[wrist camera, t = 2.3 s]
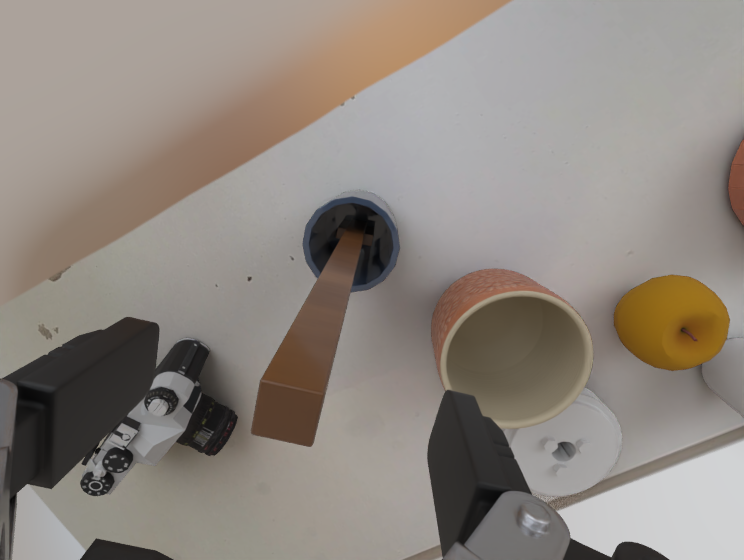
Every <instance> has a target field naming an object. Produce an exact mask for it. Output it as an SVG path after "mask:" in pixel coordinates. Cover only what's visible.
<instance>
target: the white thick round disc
mask: <svg viewBox="0 0 744 560" xmlns="http://www.w3.org/2000/svg"><path fill="white" fill-rule="evenodd" d="M501 429H502V428H501ZM502 430H503V432H504V434H505V436H506V439H507V441H508V443H509V447H511V450H512V452H513V454H514V456H515V457H514V459H516V460H517V463H518V465H519V467H520V469H521V471H522V473H523V476H524V478H525V480H526V482H527V484H528V487H529V489H530V491H531V492H532V493H535V494H539V495H543V496H567V495H572V494H576V493H579V492H582V491H584V490H586V489H588V488H590V487H592V486H594V485H595V484H597V483H598V482H600V481H601V480H602V479H603V478H604V477H605V476H606V475H607V474H608V473H609V472H610V471H611V470H612V468H613V467H614V465H615V464H616V462H617V460H618V458H619V455H620V452H621V447H622V431H621V428H620V424H619V422H618V420H617V418H616V417H615V415H614V414H613V413H612V411H611V410H610V409H609V408H608V407H607V406H606V405H604V404H603V402H602V401H601V400H600V399H599V398H598V396H597V395H595V394H594V393H593V392H592V391H590V390H589V389H587V388H586V387H584V389H583V390H582V392H581V393H580V395H579V396H578V397H577V399H576V400H575V401H574V402H573V403H572V404H571V405H570V406H569V407H568V408H567V409H565V410H564V411H563V412H561V413H560V414H559V415H557V416H555V417H554V418H552V419H550V420H548V421H546V422H543V423H541V424H538V425H535V426H531V427H526V428H519V429H502Z"/></svg>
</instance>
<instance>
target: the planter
mask: <svg viewBox="0 0 744 560" xmlns="http://www.w3.org/2000/svg"><path fill="white" fill-rule="evenodd" d="M431 337H432V344H433V348H434V353H435V359H436V364H437V369H438V373H439V377H440V380H441V382H442V385H443V387H444V390H445V391H446V390H452V391H456V392H461V393H465V394H469V395H473V396H475V398H476V401H477V403H478V405H479V408H480V410H481V413H482V415H483V416H486V417H490V418H491V419H492V420H493V421H494V422H495V423H496V424H497V425H498V426H499V427H500V428H502V429H519V428H526V427H531V426H535V425H538V424H541V423H543V422H546V421H548V420H550V419H552V418H554V417H555V416H557V415H559V414H560V413H561V412H563V411H564V410H565V409H567V408H568V407H569V406H570V405H571V404H572V403H573V402H574V401H575V400H576V399H577V397H578V396H579V395H580V393H581V392H582V390H583V389H584V387H585V385H586V383H587V381H588V379H589V376H590V373H591V369H592V365H593V344H592V339H591V335H590V333H589V330H588V328H587V326H586V324H585V322H584V321H583V319H582V318H581V317H580V315H579V314H578V313H577V311H576V310H575V309H574V308H573V307H572V306H571V305H569V304H568V303H567V302H566V301H565V300H563V299H562V298H561V297H559V296H558V295H556V294H555V293H553V292H551V291H550V290H548V289H547V288H545V287H543V286H541V285H540V284H538V283H536V282H535V281H533V280H532V279H530V278H528V277H526V276H524V275H522V274H519V273H516V272H513V271H510V270H505V269H484V270H479V271H476V272H473V273H470V274H468V275H465V276H464V277H462V278H460V279H458V280H457V281H456V282H454V283H453V284H452V285H451V286H450V287H449V288H448V289H447V290H446V291H445V292H444V293H443V295H442V296H441V298H440V299H439V301H438V303H437V305H436V308H435V310H434V313H433V317H432V325H431Z"/></svg>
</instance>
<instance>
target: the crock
mask: <svg viewBox="0 0 744 560" xmlns="http://www.w3.org/2000/svg"><path fill="white" fill-rule="evenodd" d="M351 219H354V220H358V221H363V222H367V226H371V227H374V236H373V240H372V245H371V246H368V245H363V244H362V247H361V251H360V255H359V260H358V264H357V268H356V272H355V276H354V280H353V284H352V288H351V292H357V291H364V290H368V289H370V288H372V287H374V286H376V285H377V284H379V283H381V282H382V281H384V280H385V279H386V277H387V276H388V275H389V273H390V272H391V271H392V269H393V268H394V267H395V265H396V261H397V257H398V253H399V250H400V245H399V238H398V231H397V227H396V223H395V219H394V215H393V213H392V212H391V210H390V208H389V207H388V205H387V203H386V202H385V201H384V200H382V199H381V198H380V197H378V196H377V195H375V194H373V193H371V192H368V191H363V190H352V191H347V192H343V193H341V194H340V195H338V196H337V197H335V198H334V199H332V200H330V201H329V202H327V203H326V204H324V205H323V206H321V207H320V208H318V209H317V210H316V211H315V213H314V214H313V216H312V217H311V219H310V220H309V222H308V223H307V225H306V228H305V233H304V238H303V249H304V254H305V259H306V262H307V264H308V266H309V267H310V269H311V270H312V272H313V273H314V275H315V276H316V277H317V278H319V276H320V274H321V272H322V271H323V269H324V267H325V265H326V264H327V262H328V260H329V258H330V257H331V255H332V253H333V251H334V249H335V248H336V246H337V244H338V242H339V241H340V239H338V238H336V233H337V229H338V226H339V225H340V224H341V222H342V221H343V220H346V221H351Z"/></svg>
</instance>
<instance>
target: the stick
mask: <svg viewBox="0 0 744 560" xmlns="http://www.w3.org/2000/svg"><path fill="white" fill-rule="evenodd" d="M373 236H374V227H371V226H367V222H363V221H358V220H354V219H351V221H346V220H343V221H342V222H341V224H340V225H339V226H338V229H337V233H336V238H338V239H340V241H339V242H338V244H337V246H336V248H335V249H334V251H333V253H332V255H331V257H330V258H329V260H328V262H327V264H326V265H325V267H324V269H323V271H322V272H321V274H320V276H319V278H318V279H317V281H316V283H315V285H314V287H313V288H312V290H311V292H310V294H309V295H308V297H307V299H306V301H305V302H304V304H303V306H302V308H301V310H300V311H299V313H298V315H297V317H296V318H295V320H294V322H293V324H292V325H291V327H290V329H289V331H288V332H287V334H286V336H285V338H284V340H283V341H282V343H281V345H280V347H279V348H278V350H277V352H276V354H275V355H274V357H273V359H272V361H271V363H270V364H269V366H268V368H267V370H266V371H265V373H264V375H263V377H262V378H261V380H260V384H259V390H258V395H257V401H256V406H255V411H254V417H253V422H252V428H251V433H252V434H253V435H257V436H262V437H266V438H271V439H275V440H280V441H285V442H289V443H294V444H298V445H303V446H308V447H311V446H312V445H313V443H314V439H315V435H316V431H317V427H318V423H319V419H320V415H321V411H322V407H323V403H324V398H325V394H326V390H327V386H328V382H329V378H330V374H331V370H332V366H333V362H334V358H335V354H336V349H337V345H338V341H339V337H340V333H341V329H342V325H343V321H344V317H345V313H346V309H347V304H348V300H349V296H350V292H351V288H352V284H353V280H354V276H355V272H356V268H357V264H358V260H359V255H360V251H361V247H362V244H363V245H368V246H371V245H372V240H373Z"/></svg>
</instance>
